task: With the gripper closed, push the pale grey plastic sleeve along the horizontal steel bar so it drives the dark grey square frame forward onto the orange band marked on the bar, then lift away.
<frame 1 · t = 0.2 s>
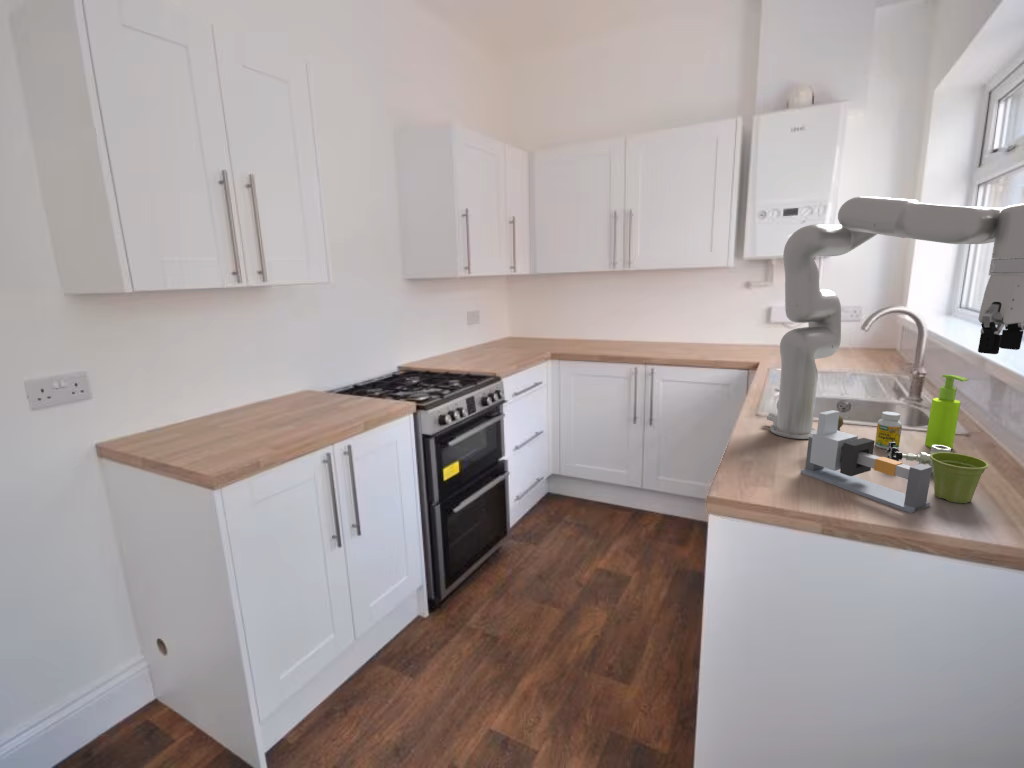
hand: (998, 351, 109), 31 cm above the countertop, tool pointing down, fingers open, 9 cm apart
supplement bottle: (886, 447, 142), on the countertop
valve: (916, 471, 126), on the countertop
plant pot: (951, 498, 111), on the countertop
rail stand: (860, 487, 117), on the countertop
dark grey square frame: (857, 456, 116), point 7 cm above the countertop, slide at -1.5 cm
sleeve: (834, 439, 121), point 10 cm above the countertop, slide at -7.0 cm
soap dispenser: (940, 447, 141), on the countertop
cork: (827, 454, 137), on the countertop
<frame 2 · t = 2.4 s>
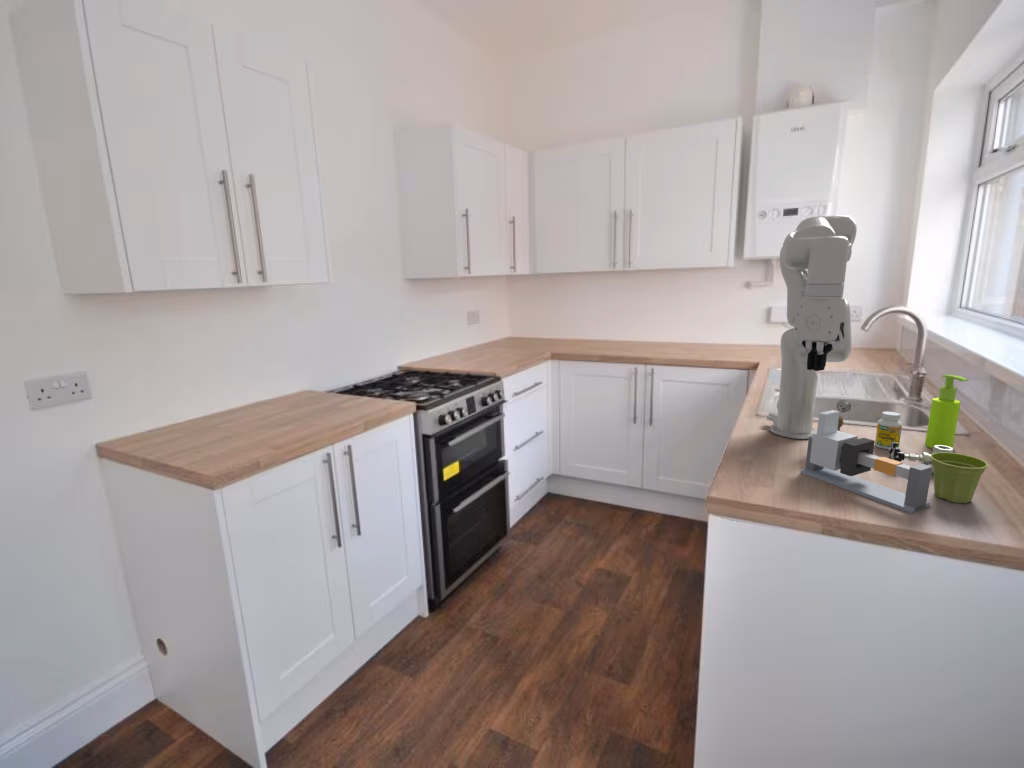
hand: (815, 369, 123), 25 cm above the countertop, tool pointing down, fingers closed
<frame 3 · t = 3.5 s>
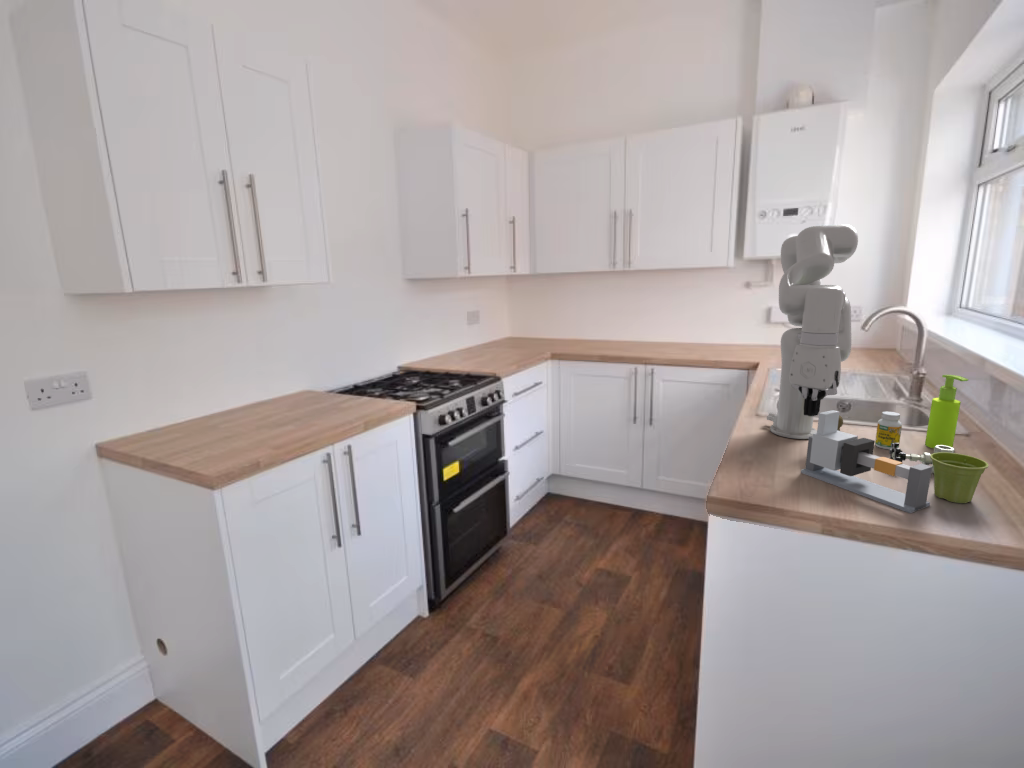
hand: (810, 414, 125), 14 cm above the countertop, tool pointing down, fingers closed
nothing on the countertop moved.
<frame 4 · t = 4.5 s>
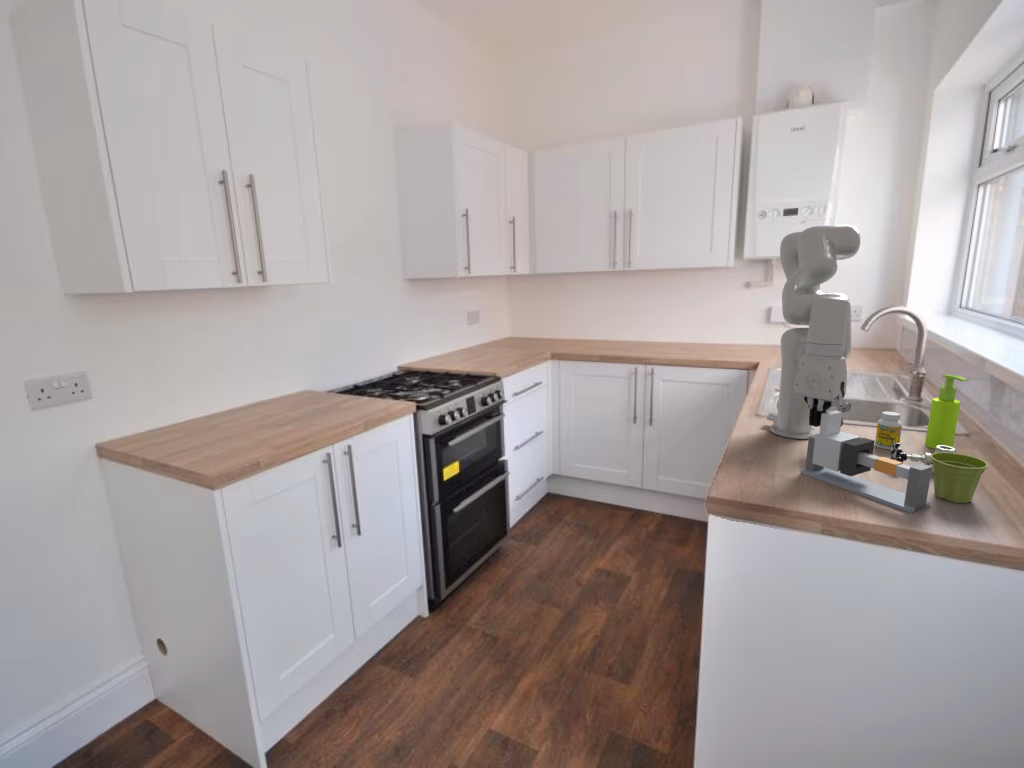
hand: (816, 425, 124), 12 cm above the countertop, tool pointing down, fingers closed
sleeve: (837, 440, 120), point 10 cm above the countertop, slide at -6.4 cm, touching gripper
everything else where it was.
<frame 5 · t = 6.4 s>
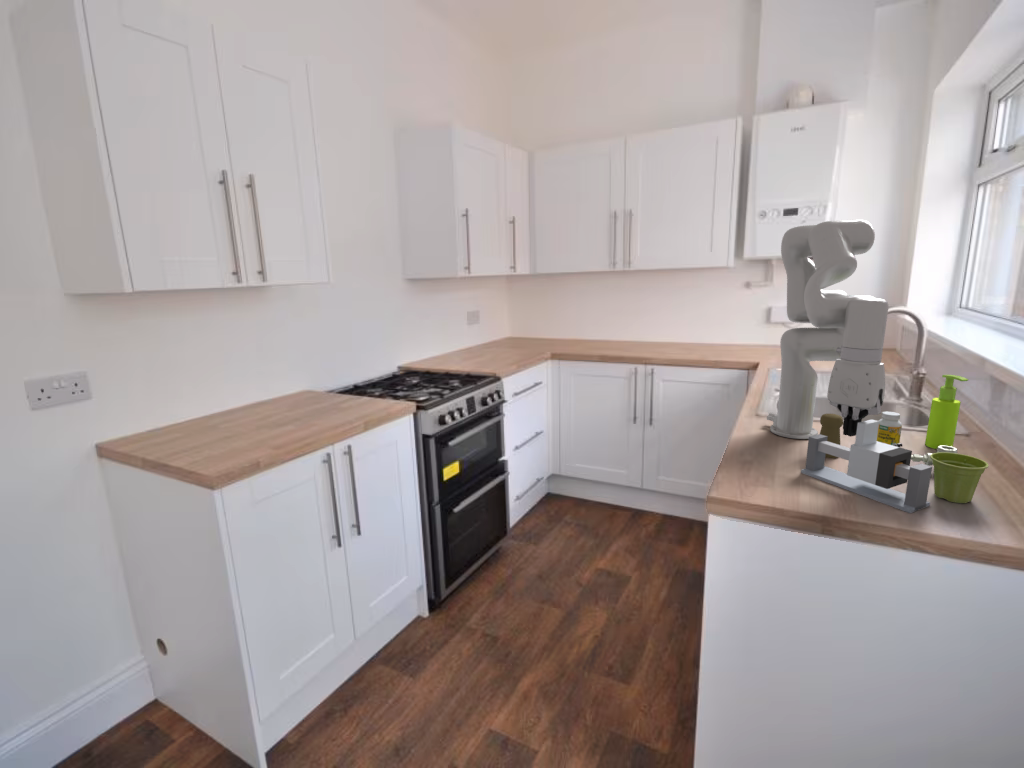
hand: (850, 434, 117), 12 cm above the countertop, tool pointing down, fingers closed
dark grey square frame: (893, 467, 110), point 7 cm above the countertop, slide at 6.1 cm, touching sleeve
sleeve: (874, 450, 113), point 10 cm above the countertop, slide at 1.9 cm, touching gripper, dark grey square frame
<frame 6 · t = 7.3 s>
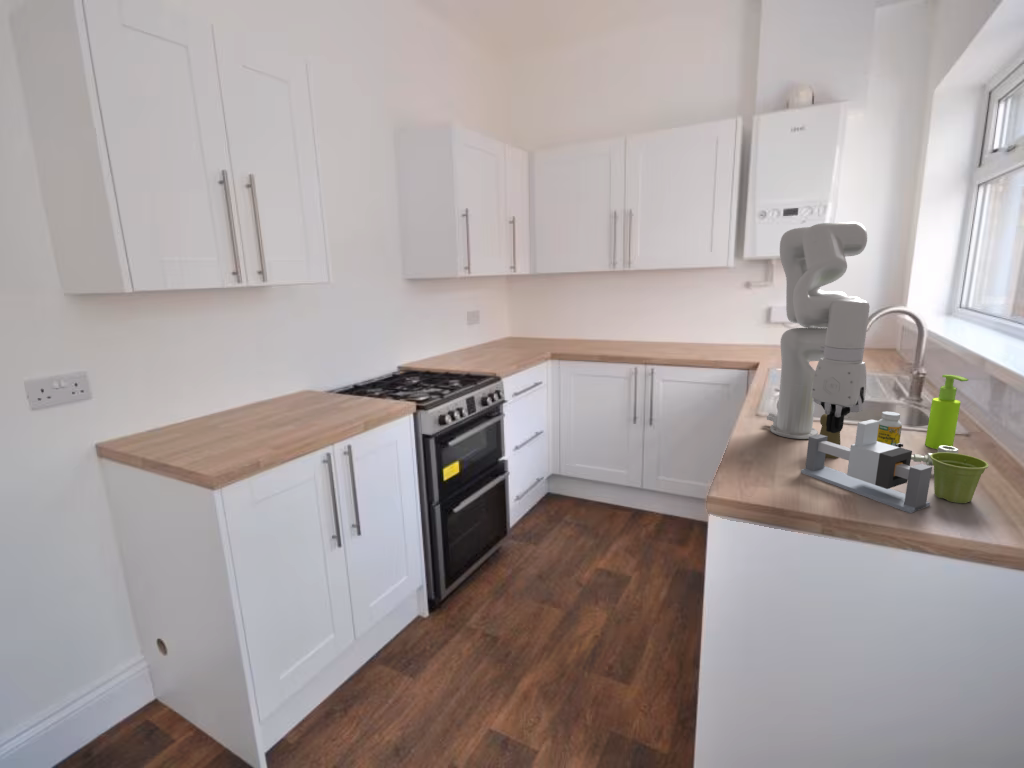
hand: (833, 431, 121), 11 cm above the countertop, tool pointing down, fingers closed
sleeve: (874, 450, 113), point 10 cm above the countertop, slide at 1.9 cm, touching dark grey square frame
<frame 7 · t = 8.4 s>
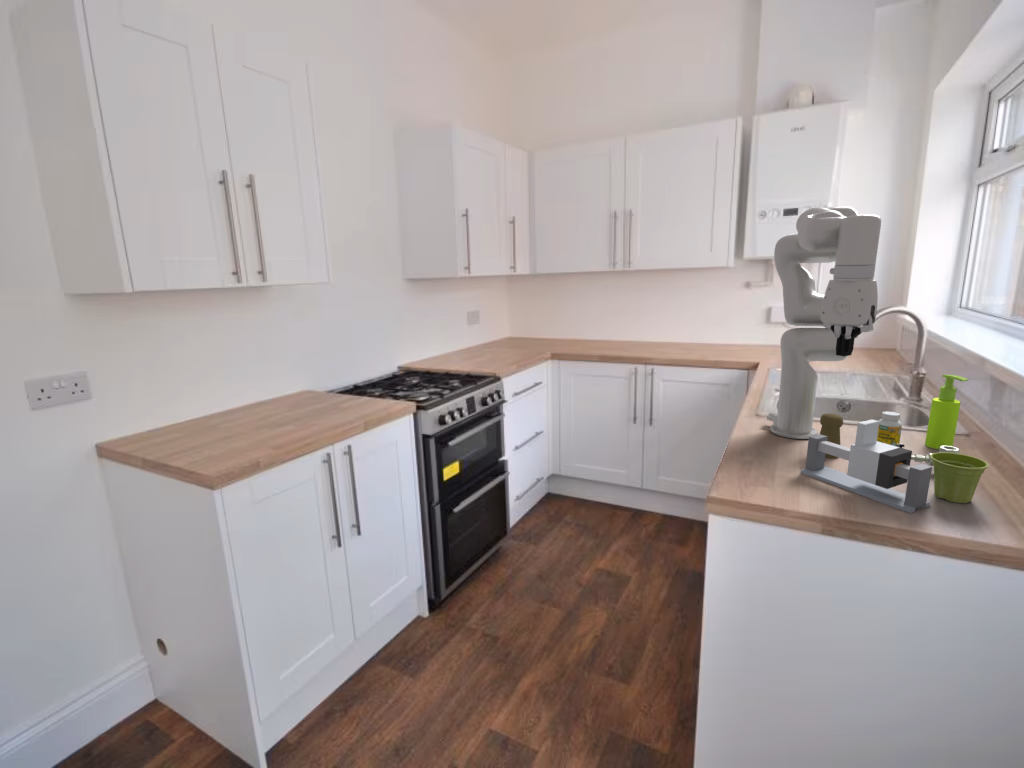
hand: (843, 355, 118), 29 cm above the countertop, tool pointing down, fingers closed
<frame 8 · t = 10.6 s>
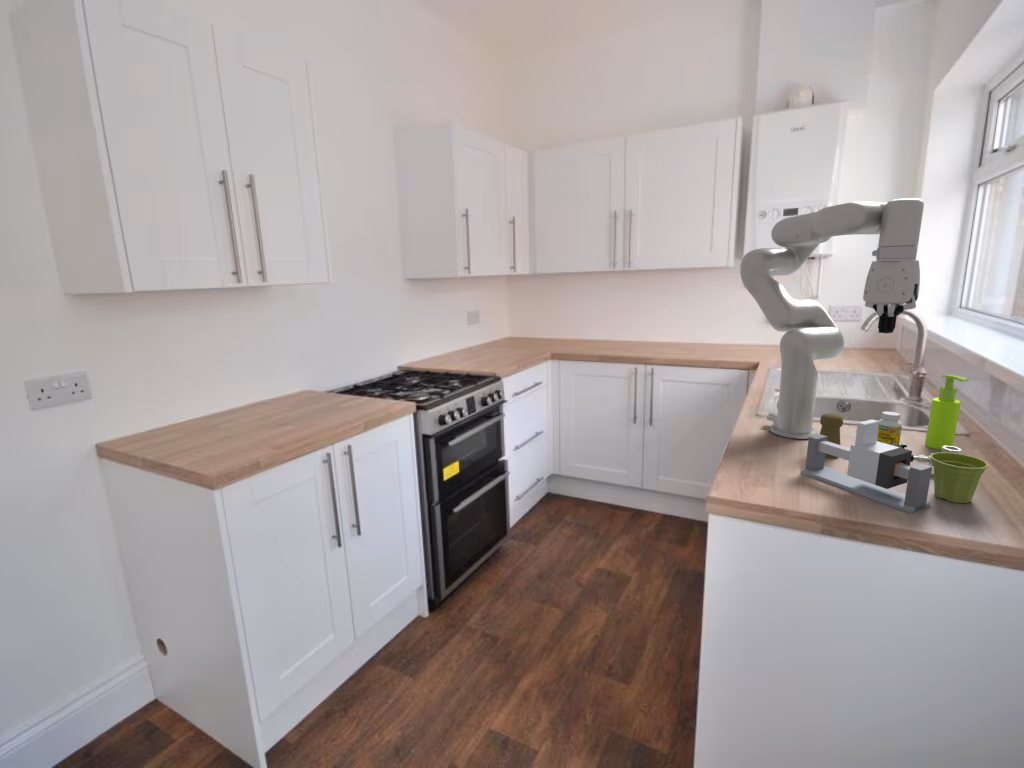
hand: (885, 332, 125), 33 cm above the countertop, tool pointing down, fingers closed
at the end: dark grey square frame slide at 6.1 cm; sleeve slide at 1.9 cm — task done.
